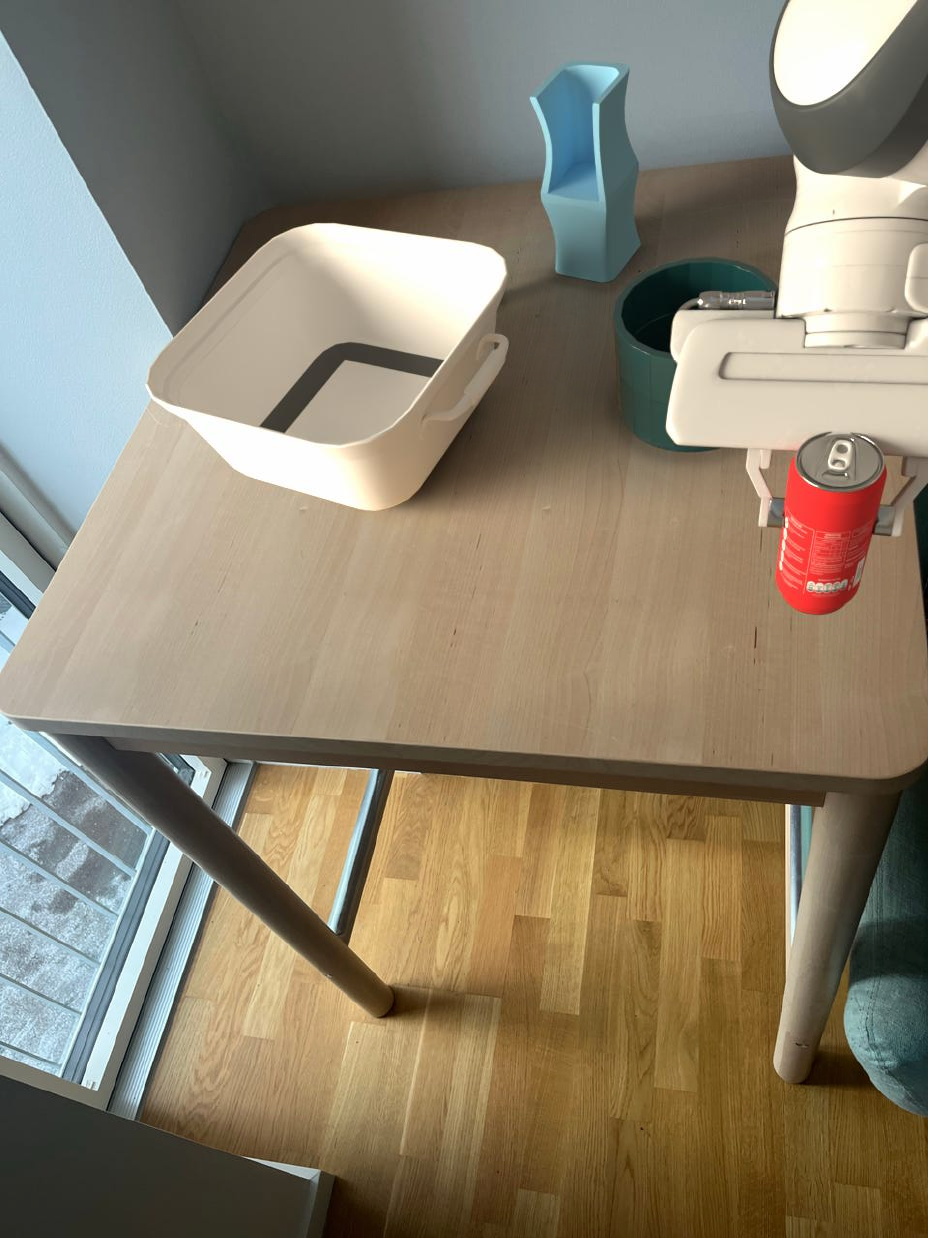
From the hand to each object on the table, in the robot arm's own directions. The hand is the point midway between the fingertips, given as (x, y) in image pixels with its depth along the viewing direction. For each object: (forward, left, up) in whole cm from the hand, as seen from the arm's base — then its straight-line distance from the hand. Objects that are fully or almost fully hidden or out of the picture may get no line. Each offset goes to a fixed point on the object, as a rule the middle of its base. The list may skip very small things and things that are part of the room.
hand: (827, 531), depth 55 cm
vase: (+23, -57, -19) cm, 64 cm away
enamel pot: (+10, -33, -19) cm, 39 cm away
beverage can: (0, -1, -7) cm, 7 cm away
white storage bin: (+43, -27, -19) cm, 54 cm away
